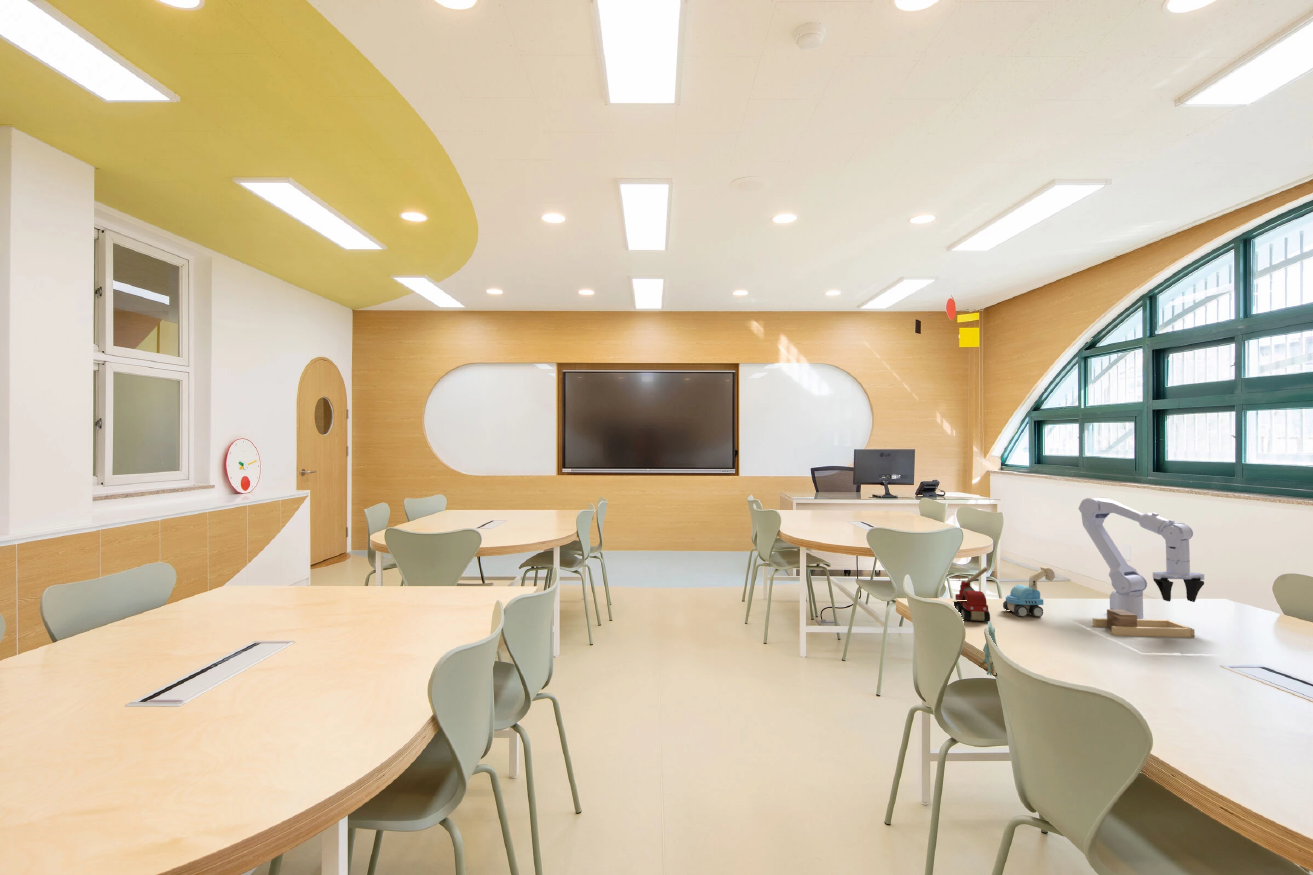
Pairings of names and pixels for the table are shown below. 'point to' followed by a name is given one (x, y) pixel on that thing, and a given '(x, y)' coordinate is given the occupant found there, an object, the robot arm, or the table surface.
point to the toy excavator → (1028, 595)
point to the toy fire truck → (972, 601)
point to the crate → (1121, 618)
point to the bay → (1149, 628)
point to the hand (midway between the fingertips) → (1178, 600)
